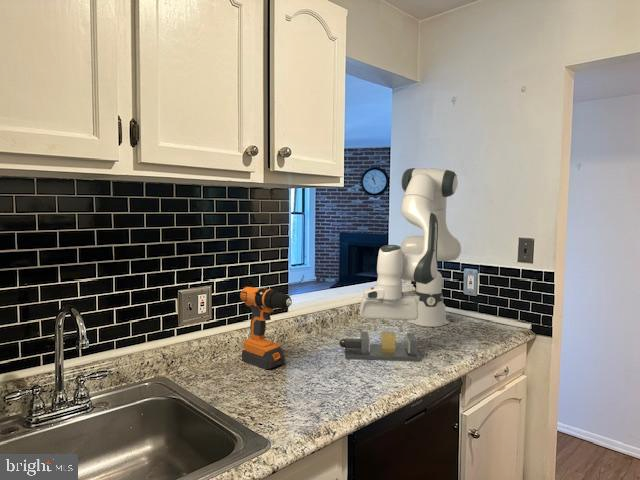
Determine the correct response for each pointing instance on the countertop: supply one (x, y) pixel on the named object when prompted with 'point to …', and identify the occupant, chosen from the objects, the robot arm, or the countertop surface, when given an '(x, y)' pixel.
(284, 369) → the countertop surface
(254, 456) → the countertop surface
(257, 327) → the power drill
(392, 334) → the block
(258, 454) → the countertop surface
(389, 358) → the vise
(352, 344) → the jaw
